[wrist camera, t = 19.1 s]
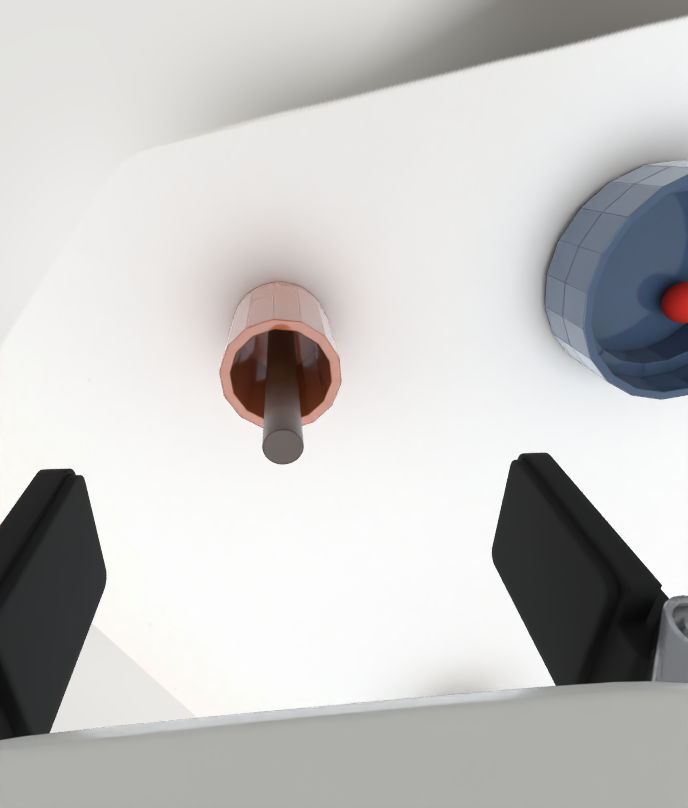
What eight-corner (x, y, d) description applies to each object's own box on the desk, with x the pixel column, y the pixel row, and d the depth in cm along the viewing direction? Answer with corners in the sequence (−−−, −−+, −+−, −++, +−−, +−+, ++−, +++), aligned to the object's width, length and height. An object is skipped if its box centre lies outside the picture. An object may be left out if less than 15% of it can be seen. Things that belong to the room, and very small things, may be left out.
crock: (212, 329, 37) (194, 379, 29) (280, 260, 35) (280, 293, 27) (281, 389, 39) (282, 450, 31) (347, 327, 38) (365, 375, 30)
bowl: (502, 271, 37) (540, 292, 32) (686, 108, 34) (762, 101, 29) (603, 401, 43) (648, 437, 38) (767, 274, 40) (843, 293, 35)
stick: (263, 332, 37) (253, 449, 22) (280, 315, 36) (281, 421, 22) (281, 349, 37) (284, 471, 23) (298, 331, 37) (312, 445, 23)
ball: (664, 274, 39) (712, 271, 36) (672, 302, 40) (718, 300, 38) (651, 304, 38) (699, 302, 35) (660, 331, 39) (706, 331, 37)
